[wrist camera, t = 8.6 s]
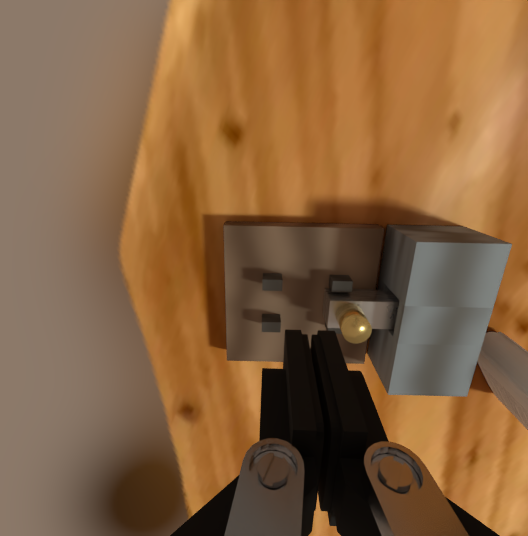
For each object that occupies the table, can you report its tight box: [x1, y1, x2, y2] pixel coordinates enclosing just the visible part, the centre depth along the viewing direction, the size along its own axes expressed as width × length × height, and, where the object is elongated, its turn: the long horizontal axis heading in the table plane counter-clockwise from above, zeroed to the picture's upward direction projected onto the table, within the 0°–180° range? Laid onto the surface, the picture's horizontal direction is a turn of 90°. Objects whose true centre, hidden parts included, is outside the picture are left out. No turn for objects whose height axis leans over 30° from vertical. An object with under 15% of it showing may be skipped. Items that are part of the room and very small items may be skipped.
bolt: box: [323, 288, 400, 344], centre depth 31 cm, size 12×3×6 cm, turn 89°
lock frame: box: [224, 221, 512, 396], centre depth 33 cm, size 25×16×7 cm, turn 89°
